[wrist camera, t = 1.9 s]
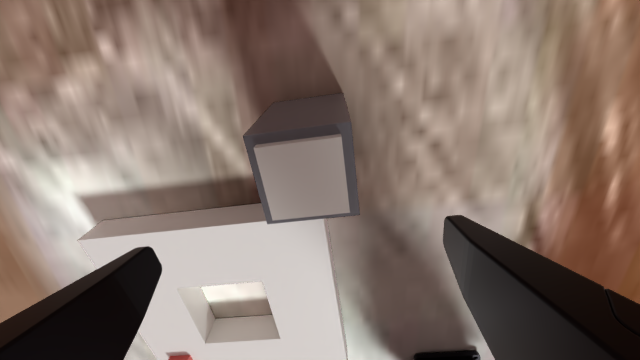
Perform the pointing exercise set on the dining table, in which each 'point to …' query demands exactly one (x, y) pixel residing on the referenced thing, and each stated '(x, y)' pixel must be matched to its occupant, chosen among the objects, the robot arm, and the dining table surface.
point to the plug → (304, 160)
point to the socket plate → (232, 268)
